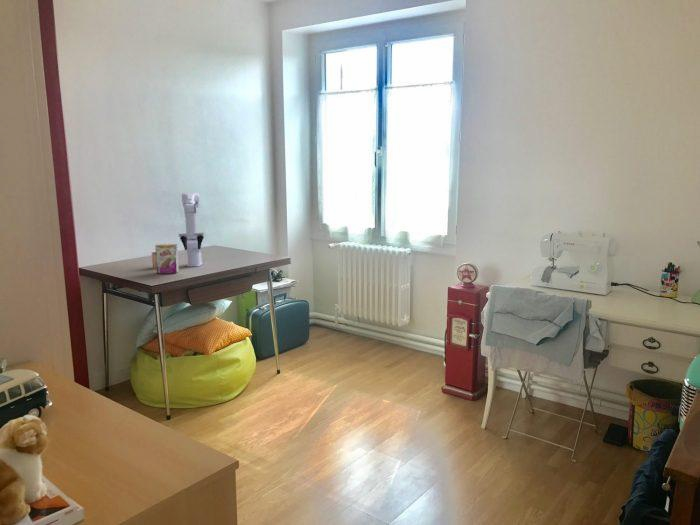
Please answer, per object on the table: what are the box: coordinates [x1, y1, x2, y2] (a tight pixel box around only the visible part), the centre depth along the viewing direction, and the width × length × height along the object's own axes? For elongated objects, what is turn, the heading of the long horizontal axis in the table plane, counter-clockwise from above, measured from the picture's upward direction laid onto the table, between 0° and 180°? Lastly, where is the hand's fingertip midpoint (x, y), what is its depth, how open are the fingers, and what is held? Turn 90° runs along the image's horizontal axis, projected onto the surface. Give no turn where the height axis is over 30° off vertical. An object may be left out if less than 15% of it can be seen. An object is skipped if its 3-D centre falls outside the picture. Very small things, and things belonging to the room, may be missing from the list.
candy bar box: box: [154, 243, 180, 275], centre depth 316 cm, size 11×5×16 cm, turn 92°
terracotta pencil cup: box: [151, 251, 157, 270], centre depth 331 cm, size 7×7×9 cm
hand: (192, 249), depth 315 cm, fingers open, 7 cm apart
